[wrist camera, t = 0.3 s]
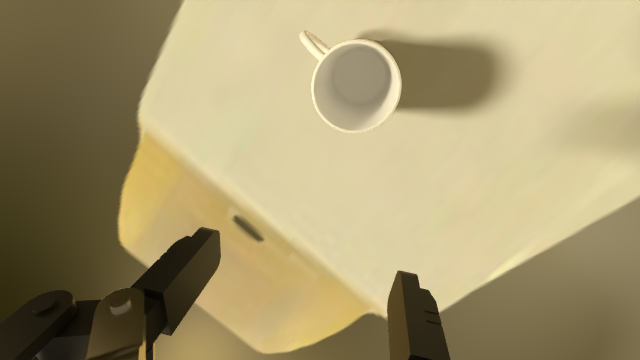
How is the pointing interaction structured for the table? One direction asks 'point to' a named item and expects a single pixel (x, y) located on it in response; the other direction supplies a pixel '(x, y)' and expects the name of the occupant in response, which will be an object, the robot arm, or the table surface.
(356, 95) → the mug
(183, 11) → the table surface
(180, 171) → the table surface
